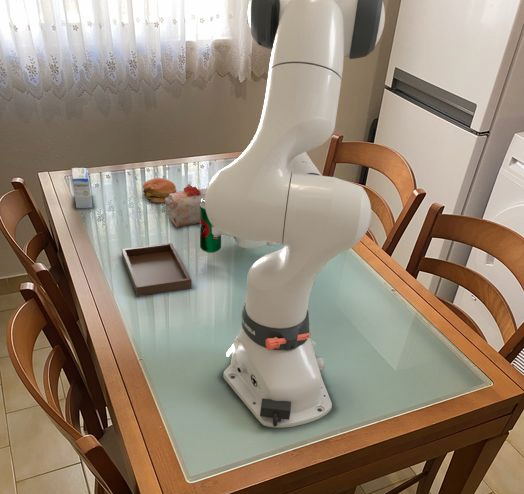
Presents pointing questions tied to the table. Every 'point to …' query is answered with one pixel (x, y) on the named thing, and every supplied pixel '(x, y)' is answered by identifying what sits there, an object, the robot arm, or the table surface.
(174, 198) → the food item
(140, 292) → the tray
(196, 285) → the table surface
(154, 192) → the burger
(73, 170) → the medicine box
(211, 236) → the soda can
